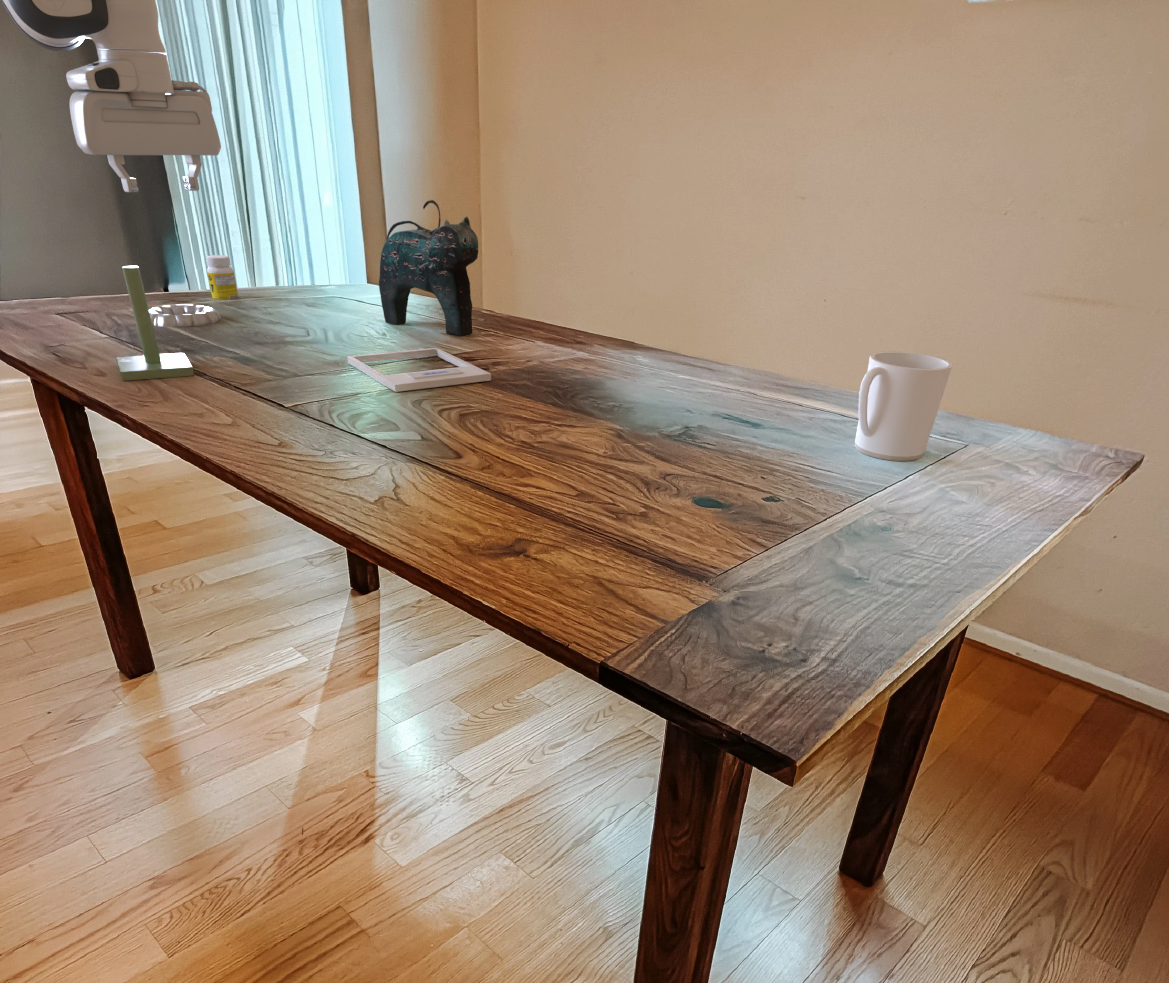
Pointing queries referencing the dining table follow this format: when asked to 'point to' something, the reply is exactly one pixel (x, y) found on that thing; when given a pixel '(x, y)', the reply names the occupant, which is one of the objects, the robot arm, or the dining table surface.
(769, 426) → the dining table surface
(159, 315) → the ring
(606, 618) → the dining table surface
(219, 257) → the supplement bottle
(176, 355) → the stand
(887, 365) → the mug
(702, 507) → the dining table surface
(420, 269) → the ceramic cat
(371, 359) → the photo frame
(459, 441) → the dining table surface
